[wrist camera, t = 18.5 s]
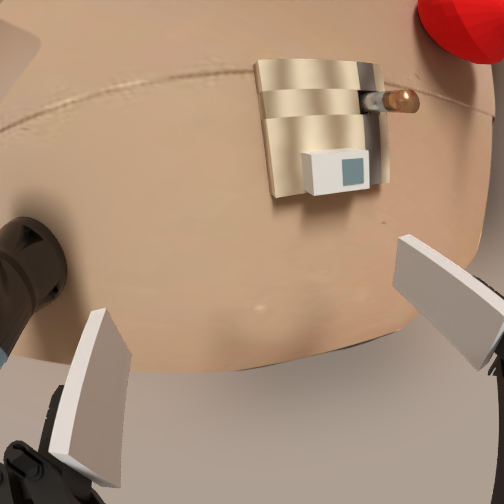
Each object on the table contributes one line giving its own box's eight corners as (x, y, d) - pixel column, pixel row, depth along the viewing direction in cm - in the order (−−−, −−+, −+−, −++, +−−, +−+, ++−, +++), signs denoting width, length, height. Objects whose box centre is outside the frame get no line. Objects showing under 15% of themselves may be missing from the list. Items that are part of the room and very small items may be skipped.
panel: (270, 192, 38) (276, 198, 35) (253, 65, 30) (258, 59, 27) (378, 178, 40) (390, 182, 37) (370, 67, 32) (381, 65, 29)
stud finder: (303, 189, 36) (314, 196, 32) (300, 152, 33) (311, 155, 30) (356, 182, 36) (370, 188, 33) (354, 147, 34) (369, 150, 31)
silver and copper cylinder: (351, 112, 35) (403, 112, 24) (349, 94, 34) (401, 88, 23) (366, 112, 35) (420, 113, 24) (365, 94, 34) (418, 91, 23)
